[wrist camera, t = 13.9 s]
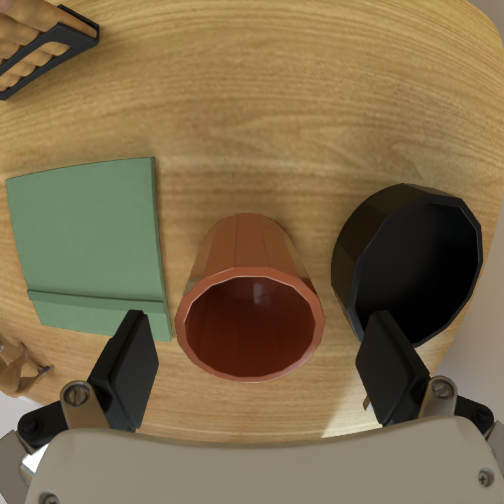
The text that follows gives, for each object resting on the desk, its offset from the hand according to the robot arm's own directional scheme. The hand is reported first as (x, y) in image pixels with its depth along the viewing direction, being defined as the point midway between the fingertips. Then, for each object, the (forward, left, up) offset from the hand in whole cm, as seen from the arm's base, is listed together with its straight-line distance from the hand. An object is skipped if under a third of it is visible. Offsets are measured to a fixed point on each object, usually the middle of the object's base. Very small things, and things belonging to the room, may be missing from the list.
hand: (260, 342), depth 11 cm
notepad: (+13, 0, -9) cm, 16 cm away
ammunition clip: (+16, -16, -9) cm, 24 cm away
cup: (0, 0, -9) cm, 9 cm away
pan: (-12, +4, -9) cm, 15 cm away
